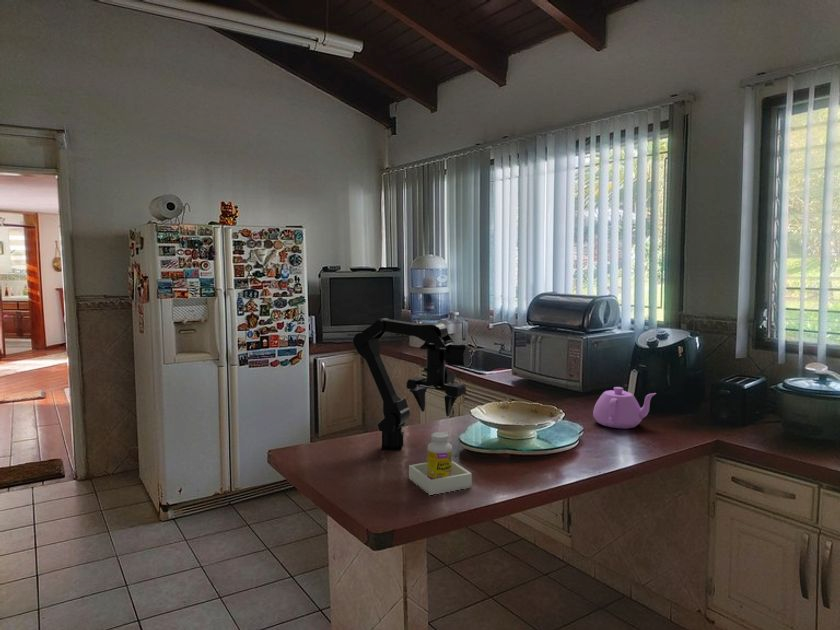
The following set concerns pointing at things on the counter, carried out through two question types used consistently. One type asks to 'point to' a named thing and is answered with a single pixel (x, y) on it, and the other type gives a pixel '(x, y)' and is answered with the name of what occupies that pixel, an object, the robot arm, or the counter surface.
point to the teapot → (620, 409)
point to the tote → (440, 479)
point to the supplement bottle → (439, 456)
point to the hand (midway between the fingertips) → (435, 413)
